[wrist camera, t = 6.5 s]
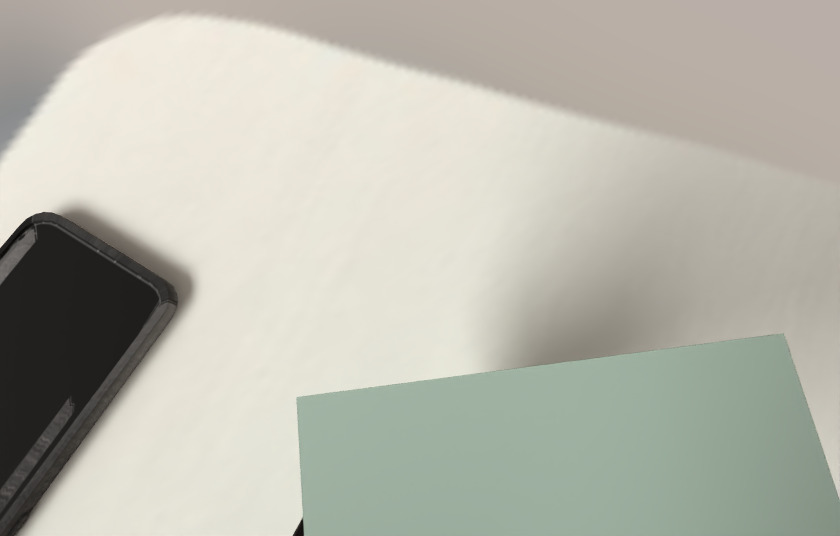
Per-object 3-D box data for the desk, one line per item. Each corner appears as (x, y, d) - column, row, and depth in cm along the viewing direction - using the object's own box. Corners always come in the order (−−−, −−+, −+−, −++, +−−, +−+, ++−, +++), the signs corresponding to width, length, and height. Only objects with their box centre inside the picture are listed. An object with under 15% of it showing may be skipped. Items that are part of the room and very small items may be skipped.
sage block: (553, 539, 15) (1007, 999, 3) (406, 559, 15) (336, 1109, 3) (525, 389, 16) (782, 333, 4) (390, 407, 16) (296, 397, 4)
